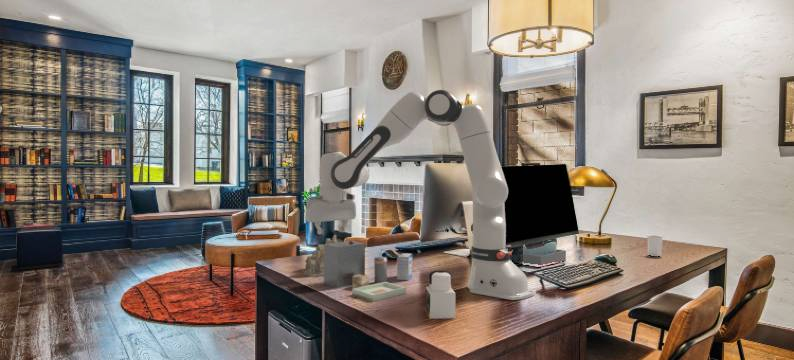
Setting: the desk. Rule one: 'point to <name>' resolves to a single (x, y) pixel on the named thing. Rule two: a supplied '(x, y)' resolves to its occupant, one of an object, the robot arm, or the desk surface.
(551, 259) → the organizer bin
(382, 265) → the cartridge
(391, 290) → the tray
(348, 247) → the console
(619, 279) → the desk surface
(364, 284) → the maple block
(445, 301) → the medicine bottle
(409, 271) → the medicine box
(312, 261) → the ceramic cottage
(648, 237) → the drinking glass
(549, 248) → the squiggly pen holder
